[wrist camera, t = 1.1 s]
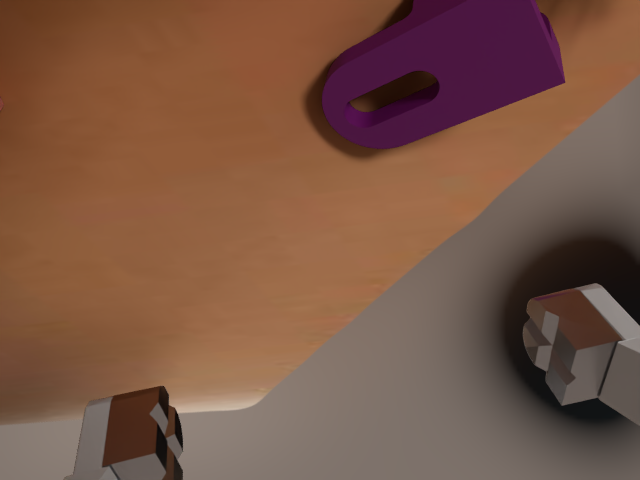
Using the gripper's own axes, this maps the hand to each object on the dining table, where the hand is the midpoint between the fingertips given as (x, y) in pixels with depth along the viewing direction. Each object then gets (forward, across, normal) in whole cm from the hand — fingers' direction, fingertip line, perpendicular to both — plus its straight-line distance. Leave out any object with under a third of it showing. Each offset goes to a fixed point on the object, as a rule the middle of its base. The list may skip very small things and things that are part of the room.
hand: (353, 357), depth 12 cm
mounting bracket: (+37, -14, +7) cm, 40 cm away
